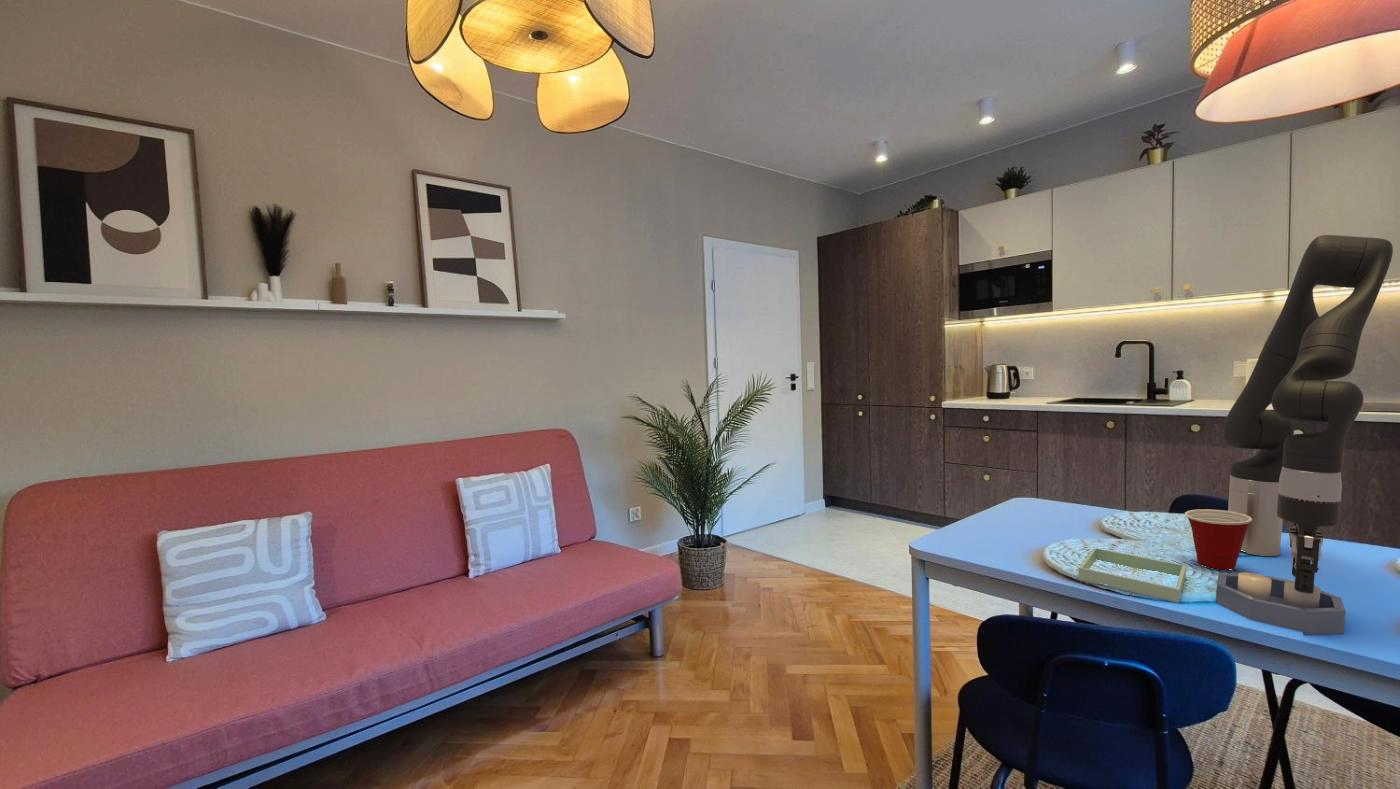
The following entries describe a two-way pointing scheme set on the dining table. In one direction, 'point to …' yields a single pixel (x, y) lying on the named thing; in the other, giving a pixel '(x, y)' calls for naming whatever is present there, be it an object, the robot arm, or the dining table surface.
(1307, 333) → the robot arm
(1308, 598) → the beige rounded piece
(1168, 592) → the tray
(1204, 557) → the plastic cup
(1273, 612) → the bowl
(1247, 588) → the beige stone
